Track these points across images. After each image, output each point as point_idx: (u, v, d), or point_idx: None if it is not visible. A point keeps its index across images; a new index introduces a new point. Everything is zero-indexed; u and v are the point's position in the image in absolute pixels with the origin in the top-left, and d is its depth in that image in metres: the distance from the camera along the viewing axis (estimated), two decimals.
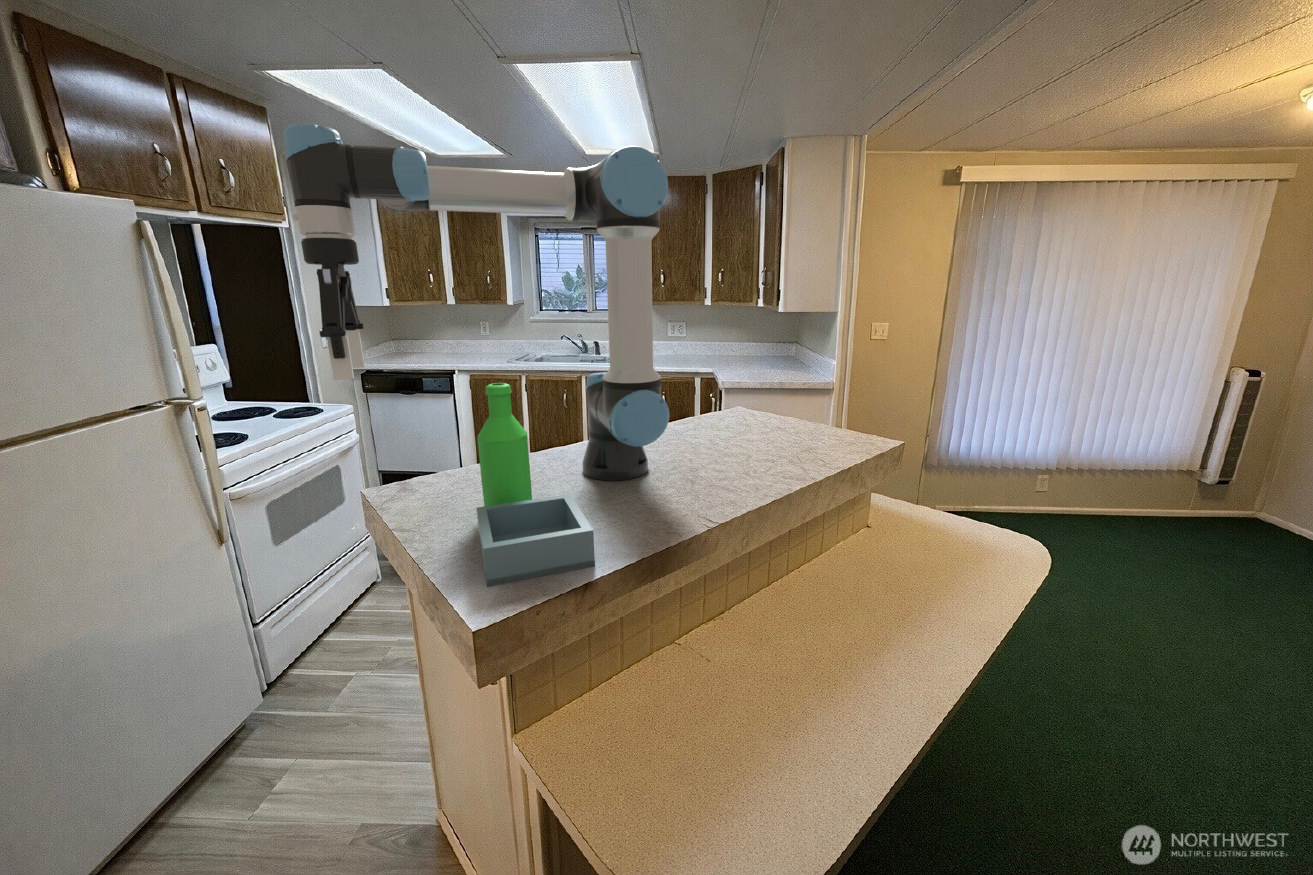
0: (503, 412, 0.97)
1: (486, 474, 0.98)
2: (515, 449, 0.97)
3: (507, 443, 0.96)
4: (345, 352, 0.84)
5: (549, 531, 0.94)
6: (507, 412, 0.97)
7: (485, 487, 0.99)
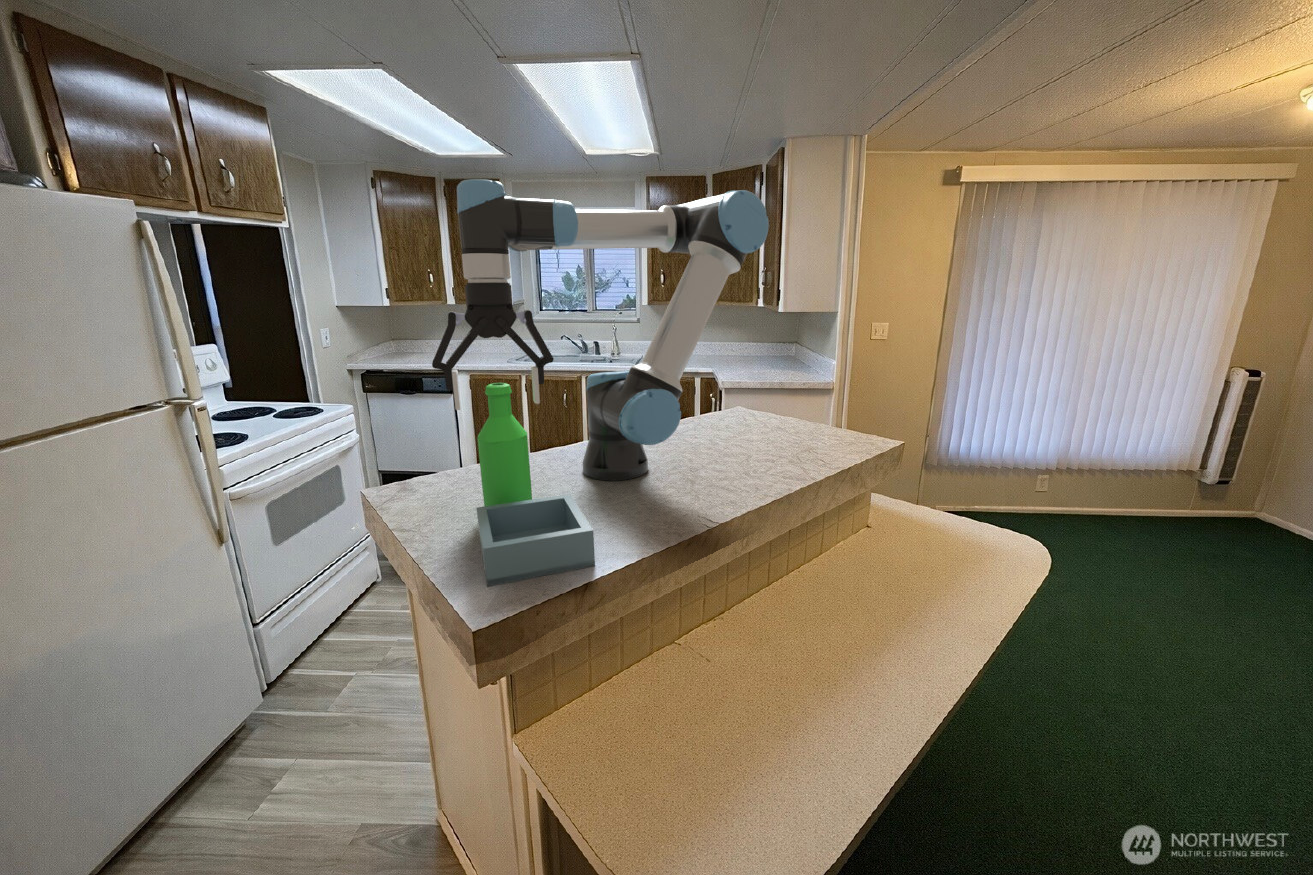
0: (503, 412, 0.97)
1: (486, 474, 0.98)
2: (515, 449, 0.97)
3: (507, 443, 0.96)
4: (452, 385, 0.93)
5: (549, 531, 0.94)
6: (507, 412, 0.97)
7: (485, 487, 0.99)
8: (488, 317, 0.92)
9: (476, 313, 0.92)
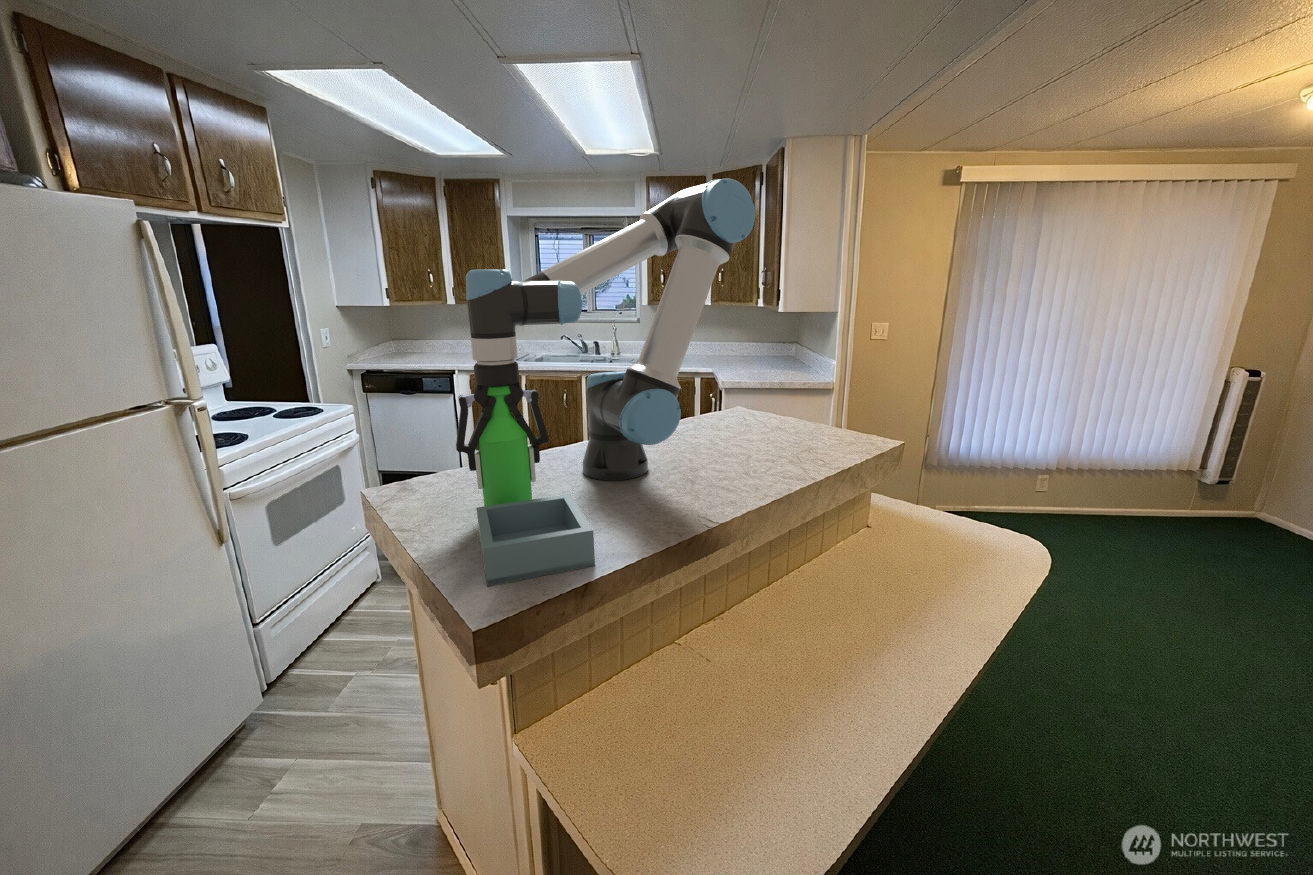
0: (503, 412, 0.97)
1: (486, 474, 0.98)
2: (515, 449, 0.97)
3: (507, 443, 0.96)
4: (475, 466, 0.98)
5: (549, 531, 0.94)
6: (507, 412, 0.97)
7: (485, 487, 0.99)
8: None
9: (484, 391, 0.95)
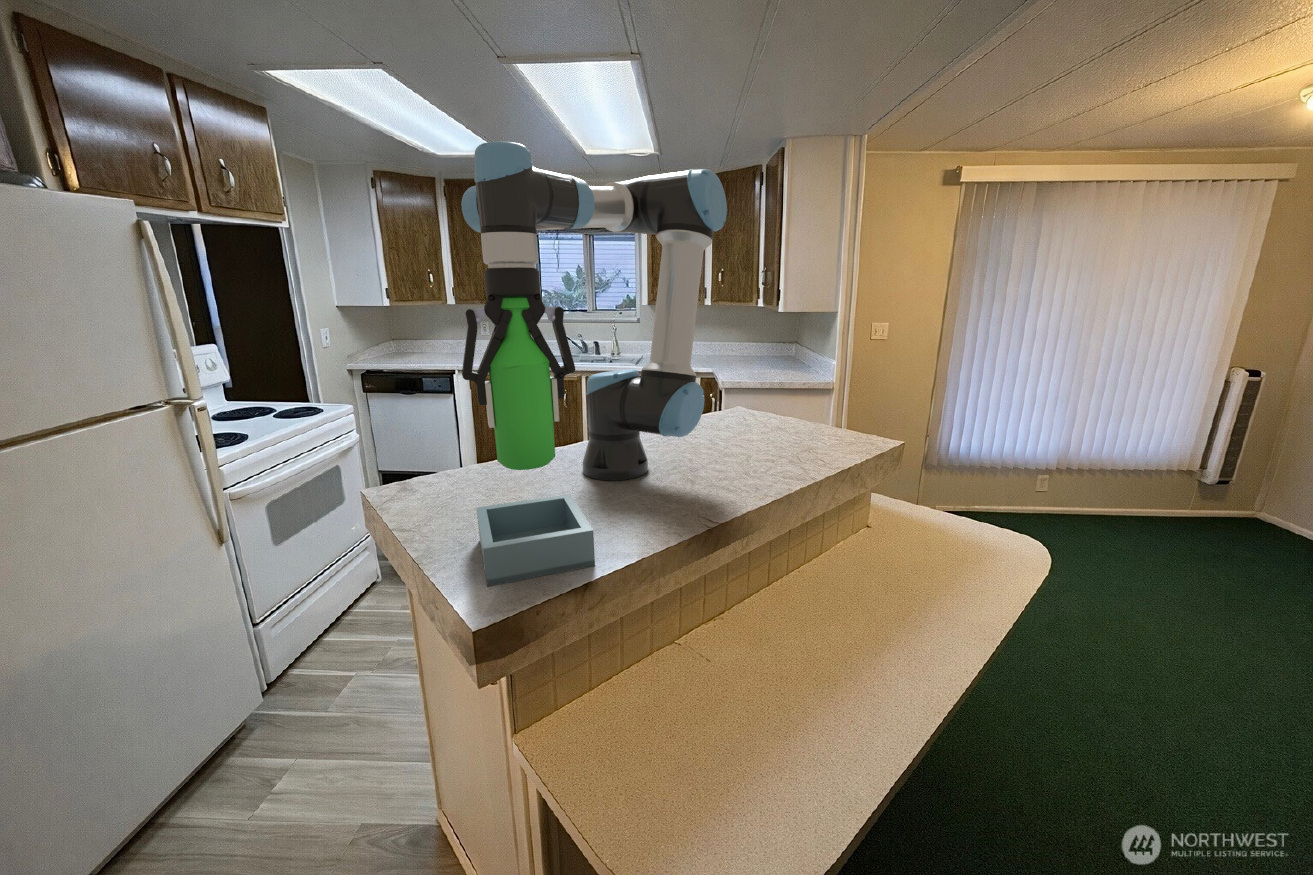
0: (520, 330, 0.78)
1: (499, 408, 0.79)
2: (535, 377, 0.78)
3: (525, 368, 0.77)
4: (486, 399, 0.79)
5: (549, 531, 0.94)
6: (525, 331, 0.78)
7: (498, 425, 0.80)
8: None
9: (497, 304, 0.76)
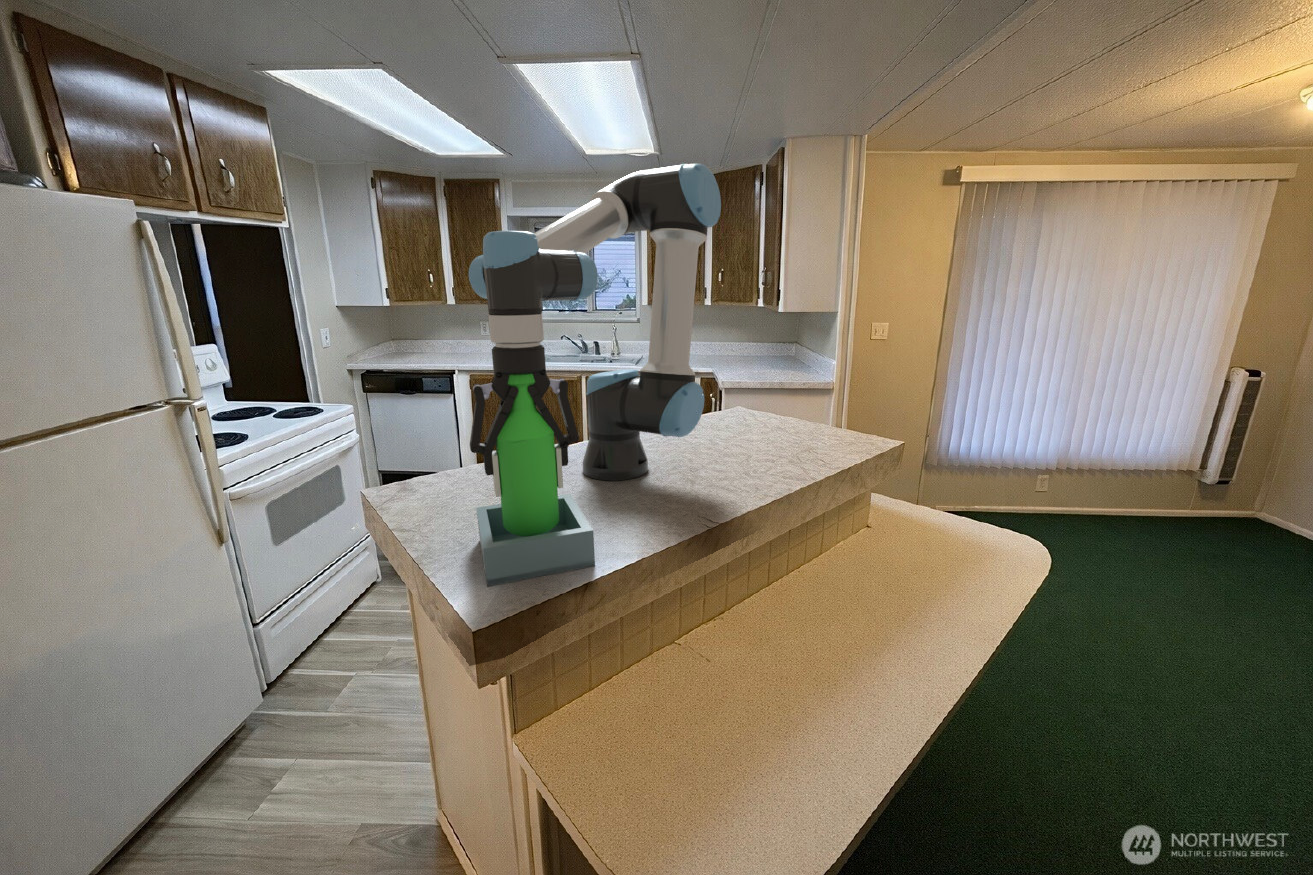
0: (526, 405, 0.81)
1: (505, 479, 0.82)
2: (540, 449, 0.81)
3: (531, 442, 0.80)
4: (493, 470, 0.82)
5: (549, 531, 0.94)
6: (531, 405, 0.81)
7: (504, 494, 0.83)
8: None
9: (503, 380, 0.79)
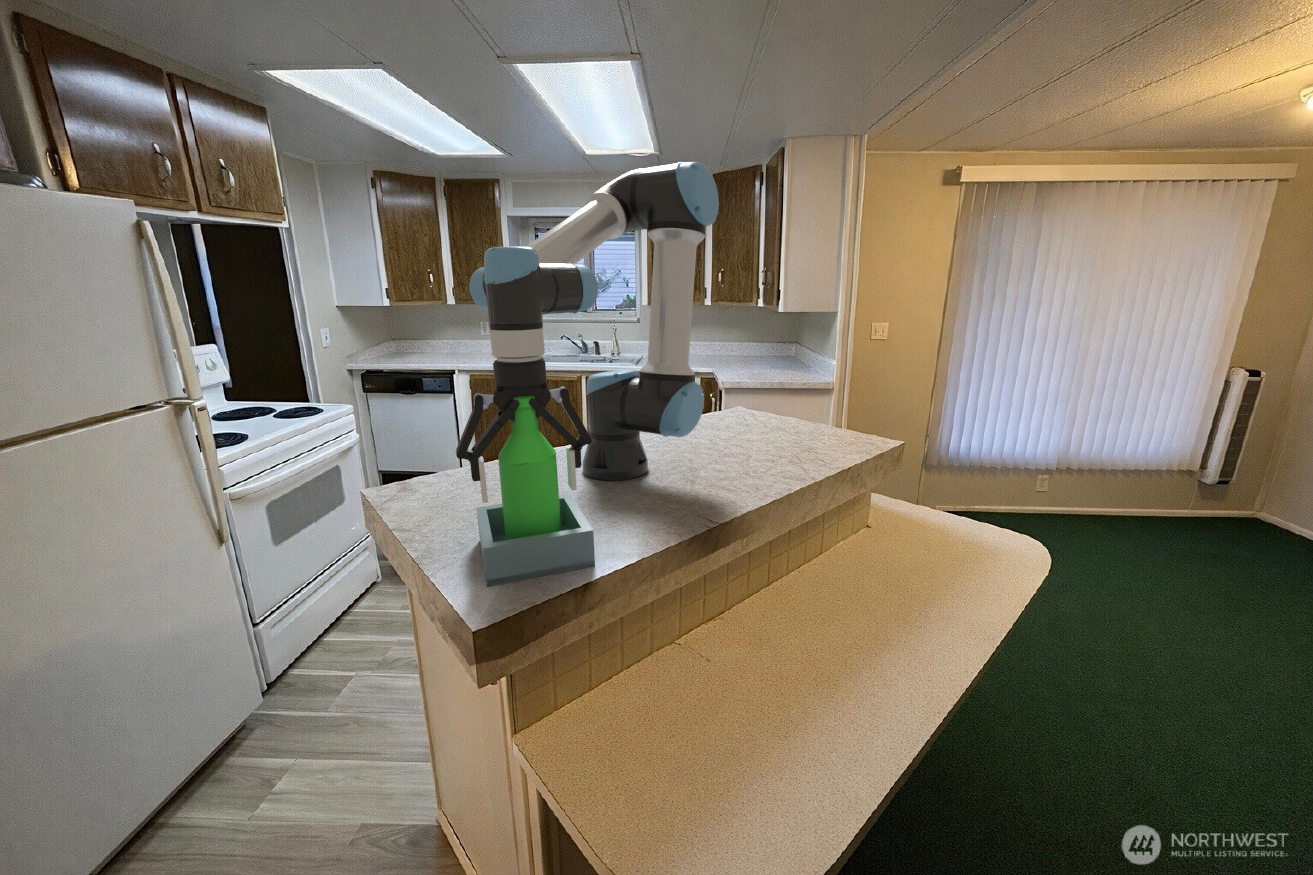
0: (529, 428, 0.82)
1: (509, 500, 0.83)
2: (543, 471, 0.82)
3: (534, 464, 0.81)
4: (479, 476, 0.82)
5: None
6: (533, 427, 0.82)
7: (507, 515, 0.84)
8: None
9: (506, 395, 0.80)
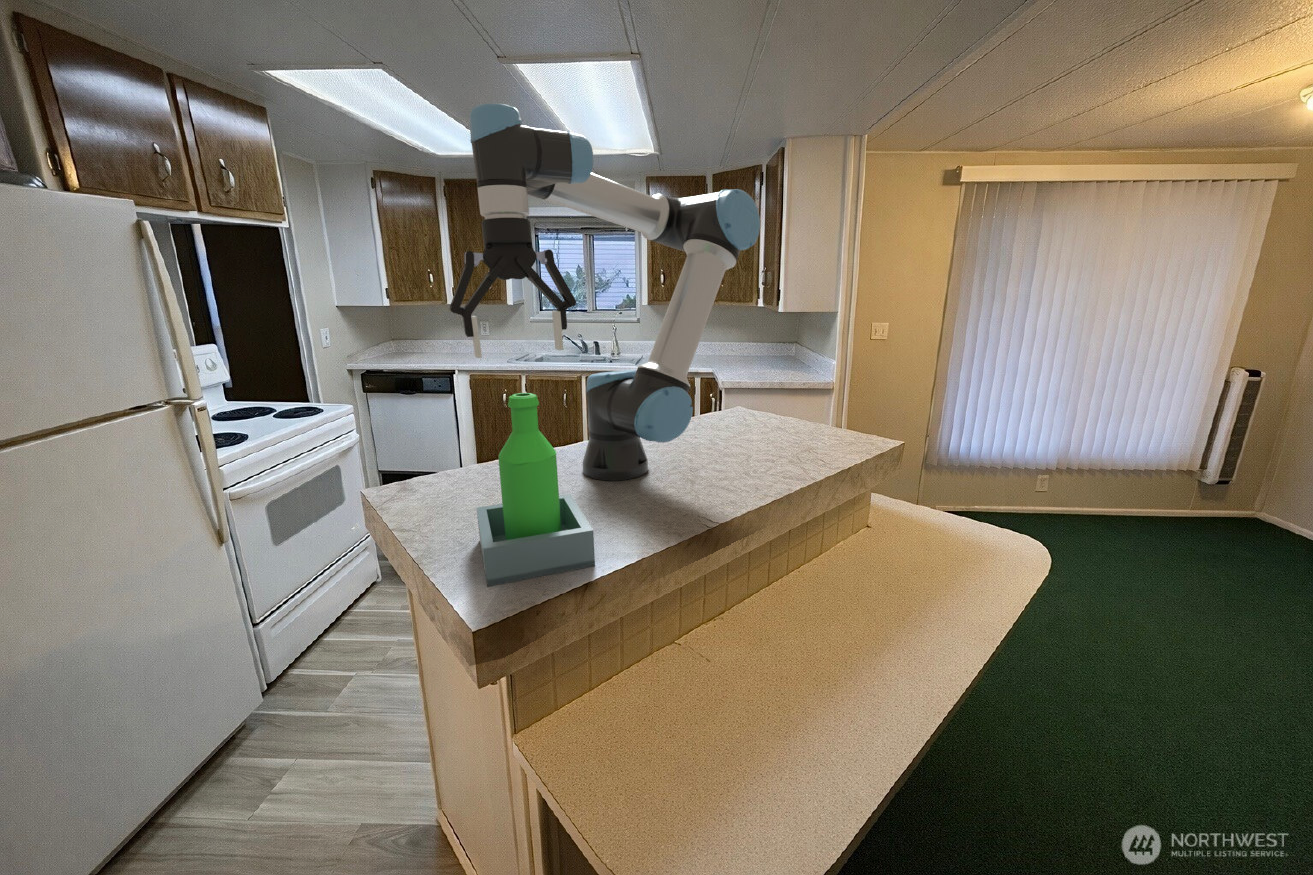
0: (529, 428, 0.82)
1: (509, 500, 0.83)
2: (543, 471, 0.82)
3: (534, 464, 0.81)
4: (473, 331, 0.88)
5: None
6: (534, 427, 0.82)
7: (507, 515, 0.84)
8: (508, 257, 0.87)
9: (495, 252, 0.86)
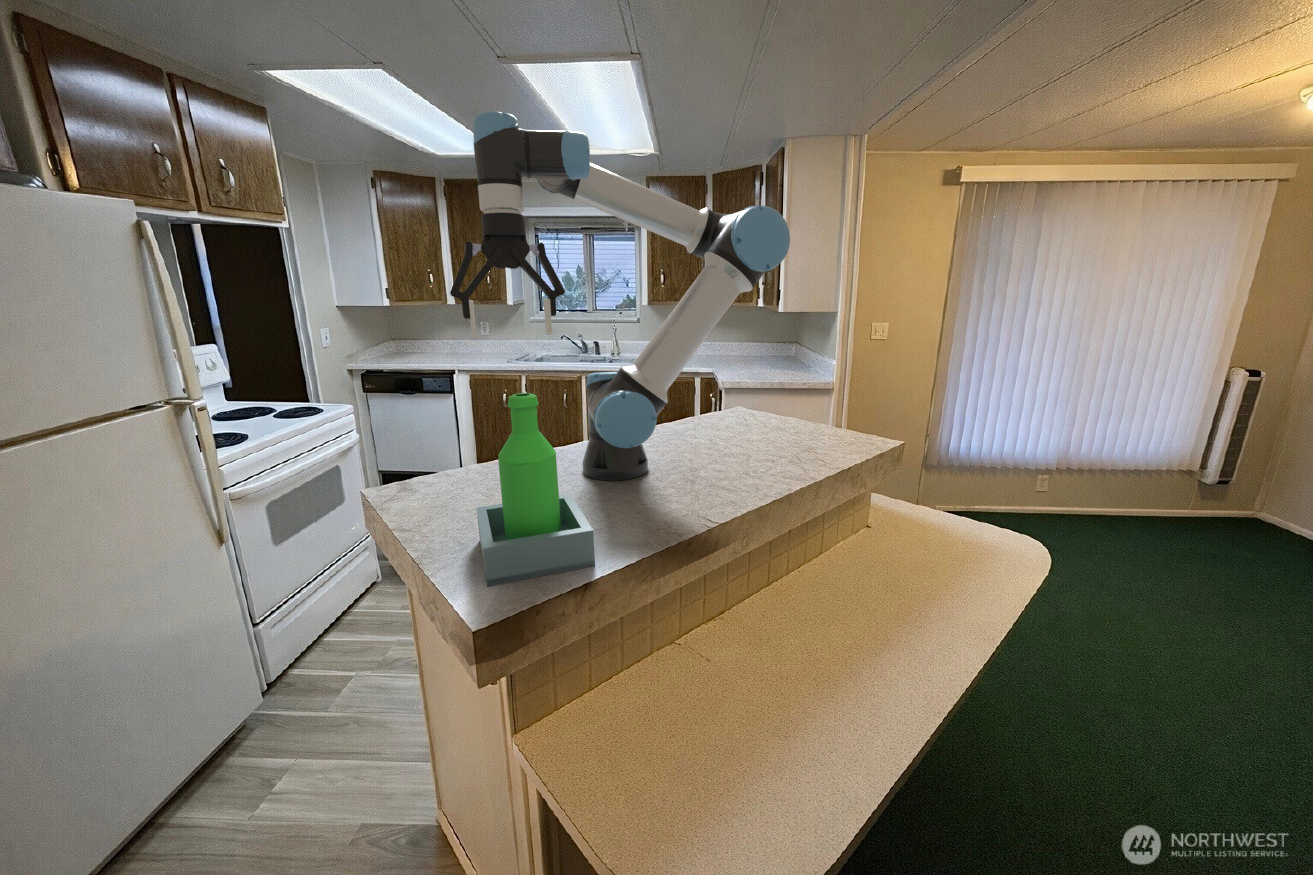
0: (529, 428, 0.82)
1: (508, 501, 0.83)
2: (543, 471, 0.82)
3: (534, 464, 0.81)
4: (469, 314, 0.98)
5: None
6: (533, 428, 0.82)
7: (507, 516, 0.84)
8: (503, 248, 0.97)
9: (492, 244, 0.96)
